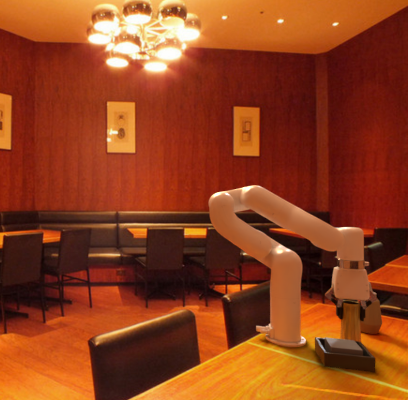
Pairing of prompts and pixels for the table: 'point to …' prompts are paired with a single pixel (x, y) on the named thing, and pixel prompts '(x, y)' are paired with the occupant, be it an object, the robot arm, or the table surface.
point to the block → (342, 346)
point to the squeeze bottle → (372, 317)
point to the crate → (345, 358)
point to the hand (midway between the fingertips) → (350, 318)
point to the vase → (350, 321)
